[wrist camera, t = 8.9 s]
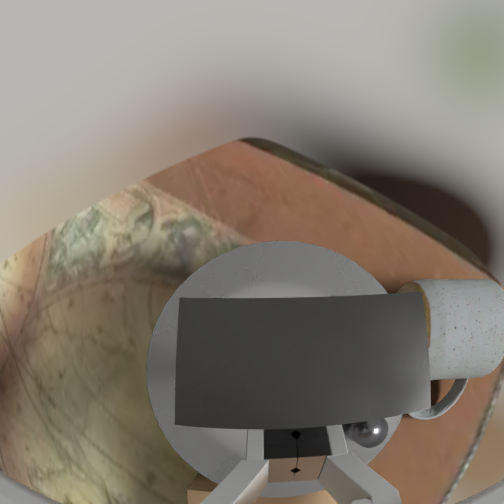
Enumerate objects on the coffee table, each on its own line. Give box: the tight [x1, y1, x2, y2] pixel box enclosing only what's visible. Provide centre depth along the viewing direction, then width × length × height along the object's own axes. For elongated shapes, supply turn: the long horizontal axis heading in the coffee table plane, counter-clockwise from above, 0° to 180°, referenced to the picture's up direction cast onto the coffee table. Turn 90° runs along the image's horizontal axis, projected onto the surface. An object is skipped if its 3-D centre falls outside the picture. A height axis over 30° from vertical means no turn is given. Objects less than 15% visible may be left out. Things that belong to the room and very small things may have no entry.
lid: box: [146, 241, 431, 497], centre depth 10 cm, size 14×14×9 cm
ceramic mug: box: [397, 279, 504, 420], centre depth 17 cm, size 11×8×8 cm
